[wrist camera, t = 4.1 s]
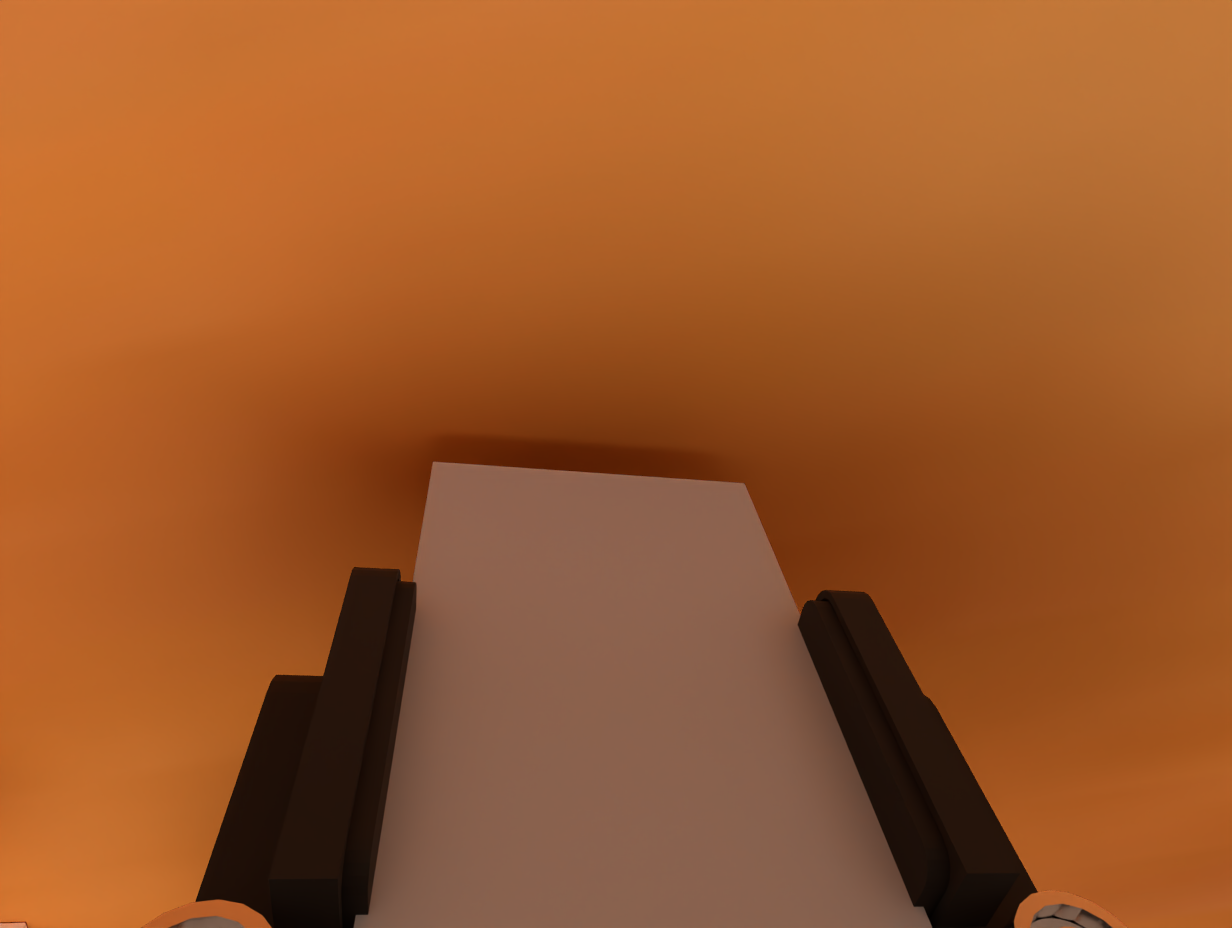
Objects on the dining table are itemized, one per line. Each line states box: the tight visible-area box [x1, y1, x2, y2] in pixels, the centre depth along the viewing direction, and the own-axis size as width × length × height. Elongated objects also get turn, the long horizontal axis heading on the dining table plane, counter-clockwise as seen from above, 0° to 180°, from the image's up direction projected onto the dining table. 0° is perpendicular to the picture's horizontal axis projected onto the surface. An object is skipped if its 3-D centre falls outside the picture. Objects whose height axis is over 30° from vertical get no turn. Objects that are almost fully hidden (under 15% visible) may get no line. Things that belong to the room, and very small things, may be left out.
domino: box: [354, 462, 932, 928], centre depth 9 cm, size 2×5×11 cm, turn 82°
